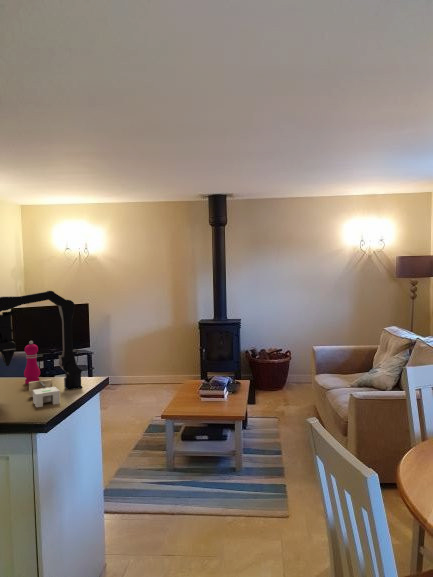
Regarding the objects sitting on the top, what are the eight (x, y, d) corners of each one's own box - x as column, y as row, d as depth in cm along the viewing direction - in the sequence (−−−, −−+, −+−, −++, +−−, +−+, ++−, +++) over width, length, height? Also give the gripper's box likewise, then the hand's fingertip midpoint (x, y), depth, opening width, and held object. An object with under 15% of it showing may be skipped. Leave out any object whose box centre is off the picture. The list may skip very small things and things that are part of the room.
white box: (52, 393, 180) (51, 379, 180) (59, 401, 167) (58, 386, 167) (29, 396, 175) (28, 382, 175) (34, 405, 162) (34, 390, 162)
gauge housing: (55, 398, 172) (55, 386, 172) (59, 403, 165) (59, 390, 165) (33, 402, 168) (32, 389, 167) (36, 407, 161) (35, 394, 161)
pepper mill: (44, 381, 203) (42, 339, 203) (32, 385, 196) (31, 342, 196) (32, 380, 205) (30, 339, 205) (20, 384, 199) (19, 341, 198)
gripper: (-19, 326, 178) (-17, 363, 179) (-17, 330, 163) (-15, 371, 163) (10, 324, 184) (12, 359, 185) (15, 328, 168) (17, 366, 169)
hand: (6, 364), depth 175 cm, fingers open, 9 cm apart
